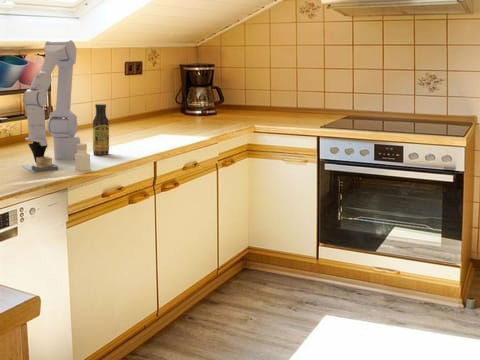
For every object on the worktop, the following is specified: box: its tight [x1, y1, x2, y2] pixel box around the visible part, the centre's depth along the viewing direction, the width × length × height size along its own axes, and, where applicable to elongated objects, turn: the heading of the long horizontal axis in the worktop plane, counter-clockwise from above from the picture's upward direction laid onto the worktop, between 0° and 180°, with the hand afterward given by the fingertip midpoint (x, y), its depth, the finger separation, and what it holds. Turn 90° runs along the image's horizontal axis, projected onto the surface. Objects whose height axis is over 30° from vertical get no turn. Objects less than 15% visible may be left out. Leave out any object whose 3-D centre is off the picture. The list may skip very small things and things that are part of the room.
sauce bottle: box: [92, 103, 110, 156], centre depth 245 cm, size 7×6×20 cm
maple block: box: [35, 155, 53, 168], centre depth 214 cm, size 4×4×4 cm
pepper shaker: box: [74, 143, 92, 172], centre depth 213 cm, size 4×4×10 cm
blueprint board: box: [21, 163, 63, 174], centre depth 216 cm, size 10×15×2 cm, turn 34°
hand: (39, 163), depth 219 cm, fingers closed
